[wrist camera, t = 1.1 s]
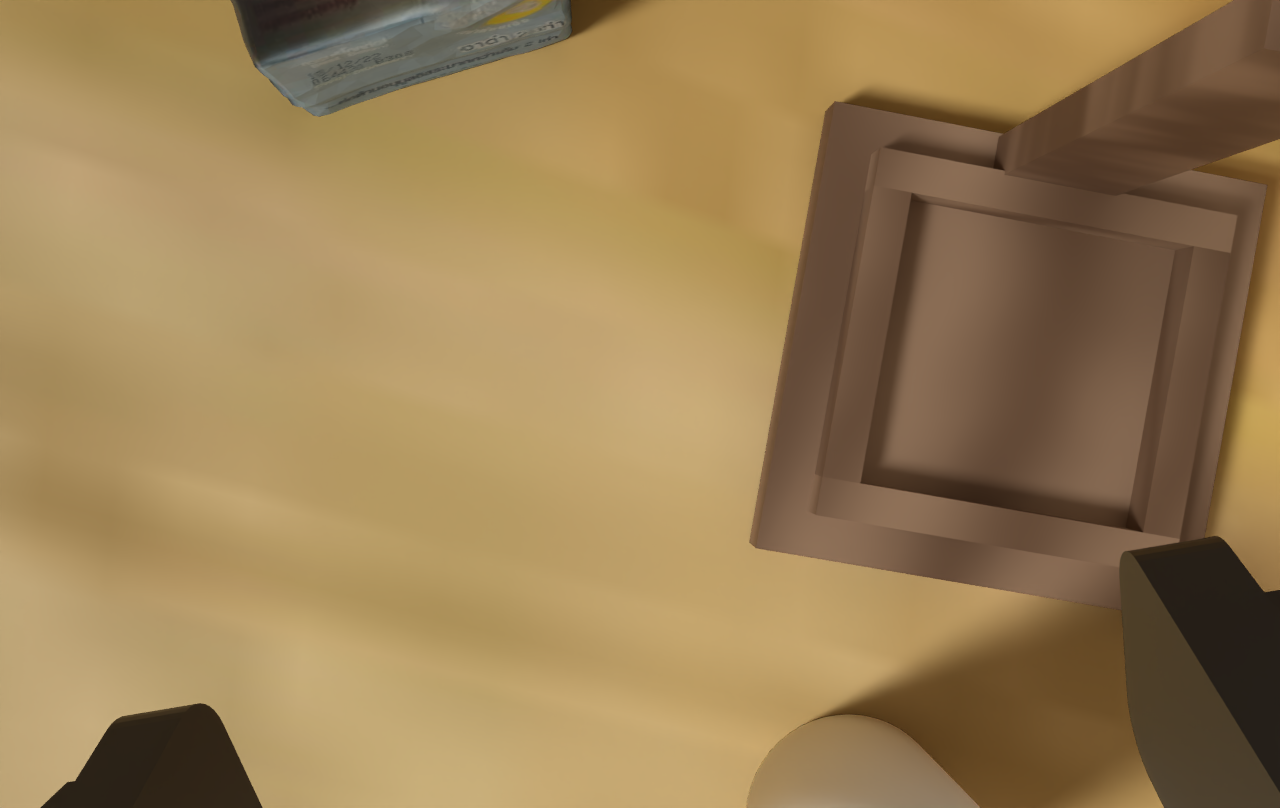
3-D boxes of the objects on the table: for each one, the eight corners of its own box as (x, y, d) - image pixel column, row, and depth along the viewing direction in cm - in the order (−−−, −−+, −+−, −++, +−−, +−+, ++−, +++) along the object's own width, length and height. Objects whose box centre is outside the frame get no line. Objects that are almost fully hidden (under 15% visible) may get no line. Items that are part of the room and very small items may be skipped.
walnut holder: (749, 542, 34) (878, 653, 20) (825, 111, 33) (1009, -86, 19) (1167, 613, 34) (1580, 770, 20) (1242, 191, 34) (1708, 57, 20)
